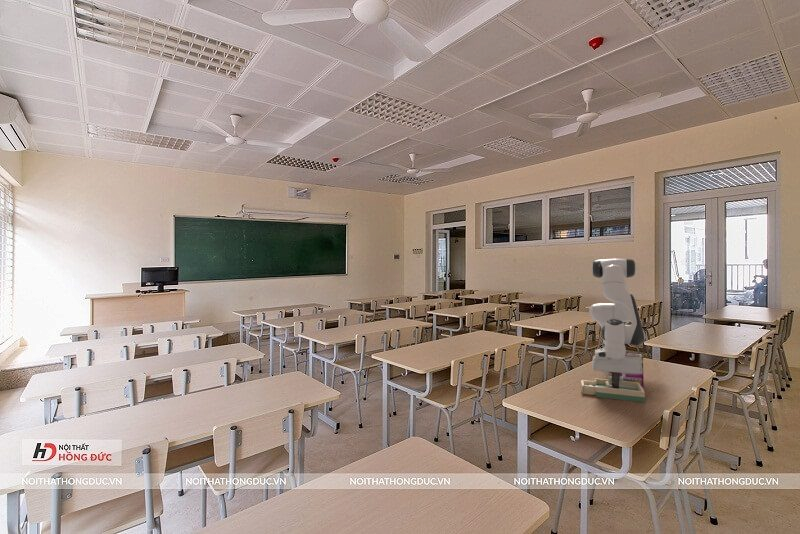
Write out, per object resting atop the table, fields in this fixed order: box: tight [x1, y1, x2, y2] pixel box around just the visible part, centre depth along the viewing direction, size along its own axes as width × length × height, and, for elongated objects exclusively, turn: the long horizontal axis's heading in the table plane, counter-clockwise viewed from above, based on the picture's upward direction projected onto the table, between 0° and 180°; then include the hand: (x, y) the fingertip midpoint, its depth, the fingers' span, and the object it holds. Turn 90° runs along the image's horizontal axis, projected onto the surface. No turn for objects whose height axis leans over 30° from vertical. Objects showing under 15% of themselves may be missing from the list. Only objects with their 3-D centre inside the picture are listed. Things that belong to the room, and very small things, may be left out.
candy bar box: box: [619, 352, 645, 388], centre depth 192 cm, size 11×5×16 cm, turn 62°
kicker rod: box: [605, 372, 619, 389], centre depth 180 cm, size 5×6×8 cm
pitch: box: [580, 377, 646, 403], centre depth 180 cm, size 14×26×5 cm, turn 66°
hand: (615, 380), depth 179 cm, fingers open, 3 cm apart
